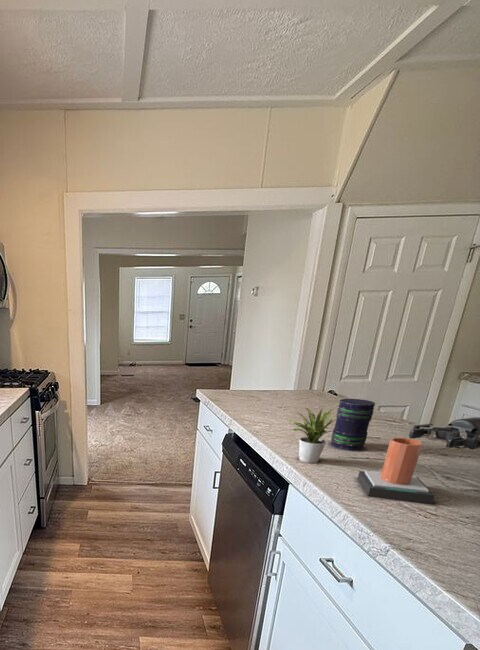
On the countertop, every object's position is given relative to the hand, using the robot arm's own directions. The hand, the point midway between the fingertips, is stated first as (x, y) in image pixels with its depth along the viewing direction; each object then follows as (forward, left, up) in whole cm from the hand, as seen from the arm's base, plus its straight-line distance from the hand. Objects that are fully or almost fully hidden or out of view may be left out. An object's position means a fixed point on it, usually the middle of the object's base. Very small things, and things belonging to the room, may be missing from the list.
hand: (429, 438), depth 98 cm
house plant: (+23, -14, -13) cm, 30 cm away
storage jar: (+10, -32, -13) cm, 36 cm away
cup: (+6, +5, -10) cm, 13 cm away
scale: (+6, +5, -13) cm, 15 cm away
